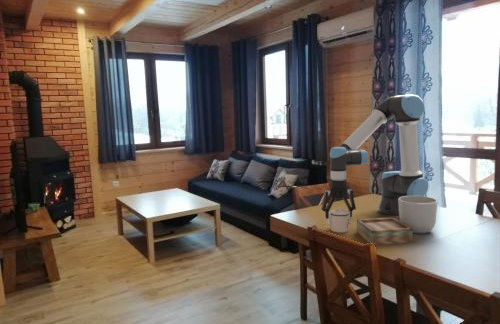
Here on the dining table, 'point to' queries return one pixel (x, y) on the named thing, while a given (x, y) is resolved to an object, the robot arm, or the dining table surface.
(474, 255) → the dining table surface
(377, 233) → the brown wooden box
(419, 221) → the planter
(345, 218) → the teacup with lid
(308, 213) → the dining table surface
